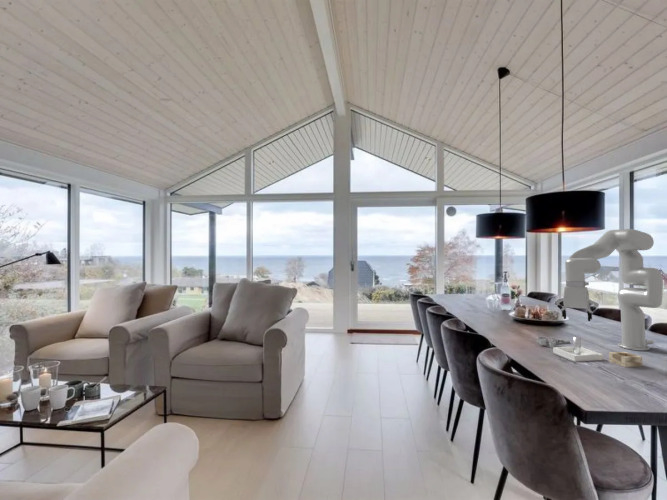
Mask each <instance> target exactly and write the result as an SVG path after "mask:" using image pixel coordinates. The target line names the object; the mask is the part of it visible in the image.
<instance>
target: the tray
mask: <svg viewBox="0 0 667 500" xmlns="http://www.w3.org/2000/svg"><path fill="white" fill-rule="evenodd" d="M552 352H553V353H552V354H553V355H554V356H556V357H559V358H561V359H562V360H566V361H568V362H571V363H573V364H577V362H588V361H590V362H591V361H604V353H600V352H597V351H594V350H591V349H588V348H585V347H583V346H581V355H574V349H573V346H563V347H557V346H556V347H553V348H552Z"/></svg>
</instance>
